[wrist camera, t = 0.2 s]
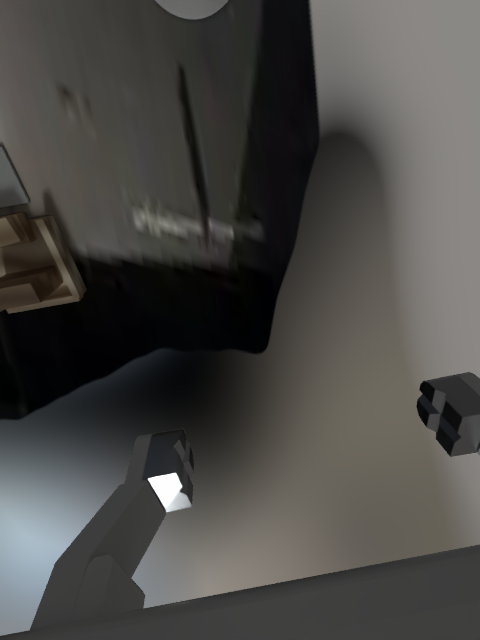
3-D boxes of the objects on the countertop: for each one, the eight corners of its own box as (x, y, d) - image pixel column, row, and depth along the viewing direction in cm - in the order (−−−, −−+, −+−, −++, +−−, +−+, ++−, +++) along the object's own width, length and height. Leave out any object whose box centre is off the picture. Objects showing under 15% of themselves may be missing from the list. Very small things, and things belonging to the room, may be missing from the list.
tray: (-41, 231, 50) (-57, 237, 46) (52, 215, 50) (42, 219, 47) (8, 309, 57) (-3, 318, 54) (89, 295, 57) (82, 303, 54)
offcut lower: (-23, 220, 49) (-34, 223, 46) (24, 211, 49) (15, 214, 46) (-8, 246, 51) (-17, 251, 49) (38, 238, 51) (30, 242, 49)
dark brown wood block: (5, 274, 53) (-27, 293, 46) (54, 265, 53) (29, 283, 46) (16, 291, 55) (-14, 312, 48) (63, 282, 55) (40, 302, 48)
